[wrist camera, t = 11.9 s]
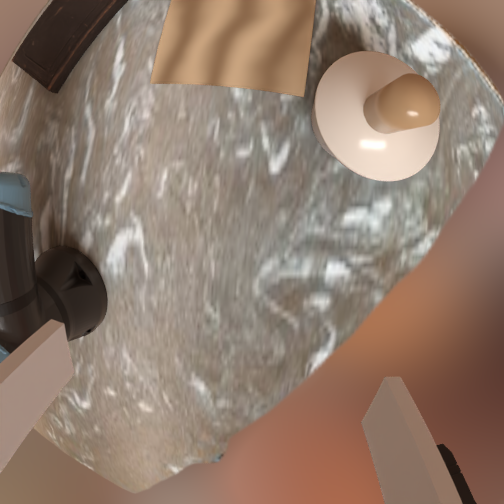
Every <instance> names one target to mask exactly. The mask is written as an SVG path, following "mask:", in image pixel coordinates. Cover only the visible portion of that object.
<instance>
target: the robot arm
mask: <svg viewBox="0 0 504 504" xmlns="http://www.w3.org/2000/svg"><path fill="white" fill-rule="evenodd" d="M32 217H33V212H32V211H31V193H30V184H29V181H28V179H27V178H26V177H25V176H24V175H22V174H19V173H11V172H0V472H2V470H3V469H4V467H5V466H6V464H7V463H8V461H9V460H10V458H11V457H12V456H13V454H14V453H15V451H16V450H17V448H18V447H19V445H20V444H21V443H22V441H23V440H24V439H25V437H26V436H27V435H28V433H29V432H30V430H31V429H32V428H33V426H34V425H35V424H36V422H37V421H38V420H39V418H40V417H41V416H42V414H43V413H44V412H45V410H46V409H47V408H48V407H49V405H50V404H51V403H52V401H53V400H54V399H55V397H56V396H57V395H58V394H59V392H60V391H61V390H62V389H63V387H64V386H65V385H66V384H67V382H68V381H69V380H70V379H71V377H72V376H73V375H74V374H75V373H74V369H73V365H72V360H71V356H70V351H69V346H68V342H69V341H71V340H74V339H77V338H80V337H82V336H85V335H88V334H90V333H91V332H93V331H94V330H95V329H96V328H97V327H98V326H99V325H100V324H101V322H102V321H103V319H104V317H105V315H106V311H107V295H106V290H105V286H104V283H103V281H102V279H101V276H100V275H99V273H98V271H97V269H96V268H95V267H94V265H93V264H92V263H91V262H90V260H89V259H88V258H87V257H86V256H84V255H83V254H82V253H80V252H79V251H77V250H75V249H73V248H71V247H67V246H57V247H54V248H52V249H50V250H47V251H46V252H44V253H42V254H41V255H40V256H39V257H38V258H37V260H36V261H35V260H34V250H33V236H32ZM361 423H362V426H363V429H364V432H365V436H366V439H367V442H368V446H369V449H370V452H371V456H372V459H373V463H374V466H375V469H376V473H377V476H378V480H379V484H380V487H381V491H382V495H383V498H384V502H385V504H476V502H475V500H474V498H473V496H472V494H471V492H470V490H469V487H468V485H467V483H466V481H465V479H464V476H463V474H462V473H460V471H461V470H460V468H459V466H458V465H457V462H456V460H455V458H454V456H453V454H452V452H451V451H450V450H449V449H448V448H447V447H445V445H444V444H440V445H436V444H435V442H434V440H433V438H432V436H431V434H430V432H429V430H428V428H427V426H426V424H425V422H424V420H423V418H422V417H421V414H420V413H419V411H418V409H417V407H416V405H415V403H414V401H413V399H412V397H411V395H410V393H409V392H408V390H407V388H406V386H405V384H404V383H403V381H402V379H401V377H384V380H383V382H382V384H381V386H380V388H379V390H378V392H377V394H376V396H375V398H374V400H373V402H372V404H371V405H370V407H369V409H368V411H367V413H366V415H365V416H364V418H363V420H362V422H361Z"/></svg>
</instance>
